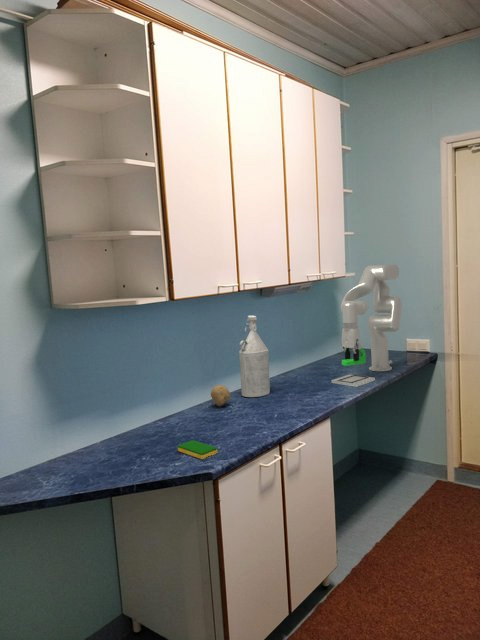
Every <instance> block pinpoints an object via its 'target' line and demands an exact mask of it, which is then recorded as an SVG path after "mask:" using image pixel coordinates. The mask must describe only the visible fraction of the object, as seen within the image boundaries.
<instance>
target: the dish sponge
mask: <svg viewBox="0 0 480 640" xmlns="http://www.w3.org/2000/svg"><path fill="white" fill-rule="evenodd" d="M177 451H178V452H180V453H182V454H186V455H188V456H192V457H194V458H197V459H200V460H204V459H206V457H207V458H209V457H211V455H212V456H214V455H217V454H218V447H216V446H213V445H210V444H206V443H203V442H200V441H197V440H194V439H193V440H189V441H187V442H184V443H181V444H179V445H177ZM216 453H217V454H216ZM208 456H209V457H208Z"/></svg>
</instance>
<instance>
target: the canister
mask: <svg viewBox="0 0 480 640" xmlns="http://www.w3.org/2000/svg"><path fill="white" fill-rule="evenodd" d="M247 322H249V323H247ZM247 325H249V326H248V327H247ZM248 329H249V333H248V335H247V336H246V338H245V340H241V341H240V342H239V345H238V346H239V349H240V350H239V351H238V354H239V355H238V357H239V369H240V370H239V371H240V373H239V374H240V385H241V386H240V387H241V389H240V390H241V396H242V397H245V398H258V397H264V396H267V395H269V394H270V393H271V390H270V389H271V386H270V359H269V358H270V357H269V352H270V351H269V349H268V347H267V346H266V344H265V342H264V340H262V339H261V337H260V335H259V334H258V332H257V316H256V315H247V320H246V325H245V327H244V332H245V333H247V332H248Z"/></svg>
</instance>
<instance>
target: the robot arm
mask: <svg viewBox="0 0 480 640" xmlns="http://www.w3.org/2000/svg"><path fill="white" fill-rule="evenodd" d="M399 275H400V268H399V267H398V265H397V264H394V263H393V264H376V265H375V264H374V265H373V264H372V265H367V266H366V267H365V268H364V269H363V272H362V274H361V277H360V278H359V281H358V283H357V285H355V286H354V287H353V288H351V289H350V290H348V291H347V292H346V293H345V295H344V296H343V299H342V301H341V304H340V311H341V313H342V327H343V328H342V330H341V346H342V349H343V352H344V360H346V359H353V360H354V361H359V356H360V354H361V352H360V350H361V349H363V345H362V344H361V338H360V331H359V324H358V323H359V321H358V318H359V317H358V316H360V315H361V316H362V315H365V314H367V312H368V311H369V305H368V303H367V302H366V301H364V300H357V299H361V298H363V297H365V296H367V295H369V294H372V292H374V293H373V302H372V309H373V312H375V313H376V314H373V315H371V316H369V318H368V319H367V325H368V330H369V336H370V354H371V356H370V357H371V366H369V367H368V370H369V371H370V372H388V371H392V370H393V369H392V368H393V367H392V366H390V365H391V364H393V360H389V358H390V357H389V339H388V336H387V335H386V333H387V332H389V333H393V332H397V331H399V328H400V326H401V317H402V300H401V298H400V297H398V296H396V295H391V296H390V294H391V293H390V292H391V289H390V286H389V283H387V281H391V280H397V278H398V277H399ZM377 313H378V314H377ZM379 313H380V314H379ZM386 313H387V314H386ZM385 332H386V333H385ZM350 349H352V351H353V355H352V357H353V358H351V351H350Z"/></svg>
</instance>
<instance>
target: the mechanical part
mask: <svg viewBox="0 0 480 640" xmlns="http://www.w3.org/2000/svg"><path fill="white" fill-rule="evenodd" d="M362 364H366V351H365V349H364V348H361V350H360V354H359V361H354V360H353V358H350V359H342V360H341V365H342V366H345V367H348V366H354V365H362Z"/></svg>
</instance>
